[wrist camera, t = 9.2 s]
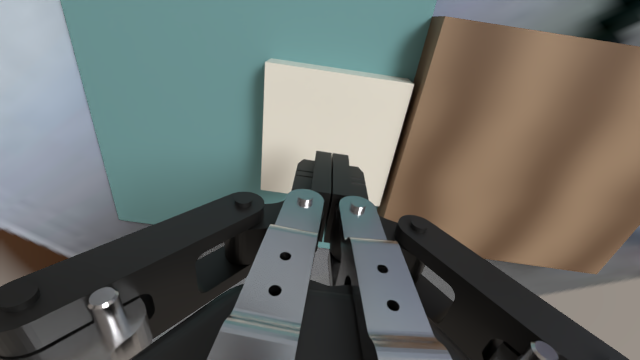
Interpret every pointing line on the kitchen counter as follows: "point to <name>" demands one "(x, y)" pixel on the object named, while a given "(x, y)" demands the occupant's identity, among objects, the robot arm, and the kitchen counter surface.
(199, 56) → the mat
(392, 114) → the tile
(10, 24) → the kitchen counter surface
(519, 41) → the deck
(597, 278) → the kitchen counter surface
